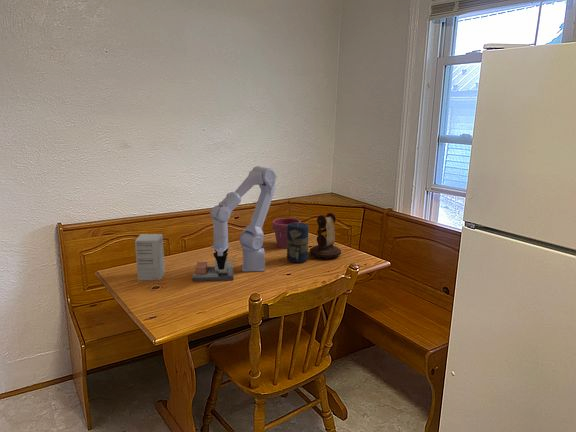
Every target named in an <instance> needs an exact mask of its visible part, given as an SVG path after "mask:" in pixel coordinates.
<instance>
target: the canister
mask: <svg viewBox="0 0 576 432" xmlns="http://www.w3.org/2000/svg"><path fill="white" fill-rule="evenodd" d="M308 253H309V225H308V224H307V223H304V222H301V223H300V222H295V223H290V224H289V225H288V227H287V248H286V258H287V260H288V261H289V262H293V263H304V262H306V261H307V260H308V258H309V254H308Z"/></svg>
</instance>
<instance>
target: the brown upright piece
mask: <svg viewBox="0 0 576 432" xmlns="http://www.w3.org/2000/svg"><path fill="white" fill-rule="evenodd" d="M336 219H337V218H336V216H335V214H334V213H332V212H329V213H327V214H326V215H325V216H324V215H318V217H317V218H316V224H317V225H318V227H317V229H318V230H317V231H316V233H317V237H316V243H317V244H316V245H313V246H312V247H311V248H310V249H309V254H310V256H314V257H318V258H325V259H326V261H328V260H329V258H335V257H338V256H341V255H342V250H341V248H339V247H338V246H335V241H336V235H335V228H336V227H335V223H336V221H337V220H336ZM322 233H326V234H325V236H324V235H323V234H322Z"/></svg>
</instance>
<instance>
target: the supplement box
mask: <svg viewBox="0 0 576 432" xmlns="http://www.w3.org/2000/svg"><path fill="white" fill-rule="evenodd" d="M134 245H135V247H134V248H135V259H136V262H135V263H136V270H137V271H136V272H137V273H136V274H137V280H138V279H139V280H138V281H161V280H162V278H163V276H164V274H165V273H166V272H165V255H164V254H165V253H164V238H163V234H162V233H150V234H149V233H141V234H139V235H138V236H137V238H136V239H135V241H134Z"/></svg>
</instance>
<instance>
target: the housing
mask: <svg viewBox="0 0 576 432" xmlns="http://www.w3.org/2000/svg"><path fill="white" fill-rule="evenodd" d="M228 263H229V259H228V256H227V257H226V260H225V267H224V270H219V269H218V265H217V261H216V259H214V266H215V273H227V272H228Z"/></svg>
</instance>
